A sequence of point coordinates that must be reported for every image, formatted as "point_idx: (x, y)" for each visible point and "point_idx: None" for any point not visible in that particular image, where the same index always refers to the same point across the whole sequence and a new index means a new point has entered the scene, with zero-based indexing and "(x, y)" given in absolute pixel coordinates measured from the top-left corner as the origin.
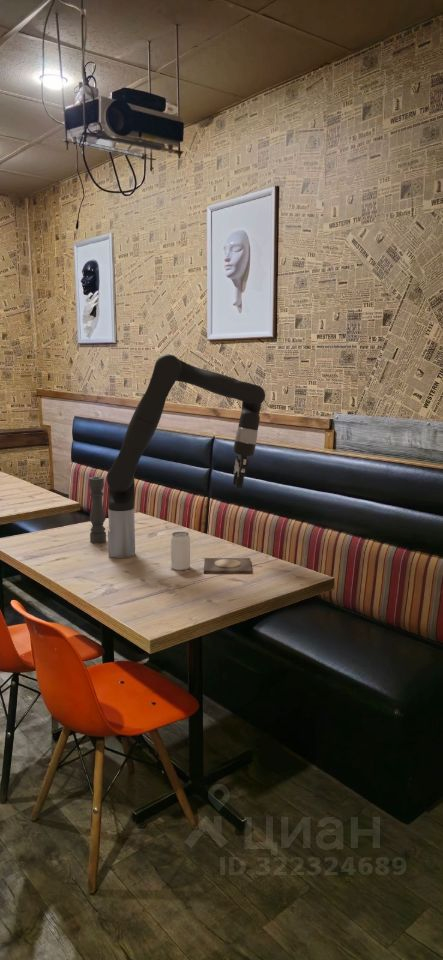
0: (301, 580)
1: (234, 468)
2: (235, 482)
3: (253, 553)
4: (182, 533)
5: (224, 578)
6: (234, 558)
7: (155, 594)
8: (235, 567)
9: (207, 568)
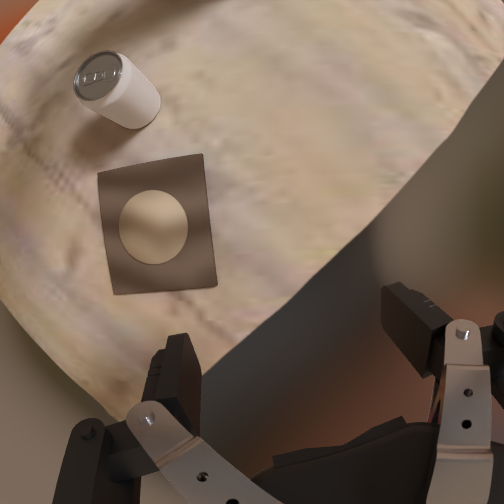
0: (105, 386)
1: (448, 369)
2: (389, 310)
3: (291, 289)
4: (111, 76)
5: (76, 229)
6: (206, 241)
7: (5, 119)
8: (128, 251)
9: (112, 178)
